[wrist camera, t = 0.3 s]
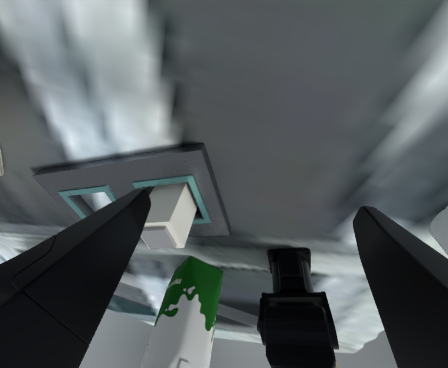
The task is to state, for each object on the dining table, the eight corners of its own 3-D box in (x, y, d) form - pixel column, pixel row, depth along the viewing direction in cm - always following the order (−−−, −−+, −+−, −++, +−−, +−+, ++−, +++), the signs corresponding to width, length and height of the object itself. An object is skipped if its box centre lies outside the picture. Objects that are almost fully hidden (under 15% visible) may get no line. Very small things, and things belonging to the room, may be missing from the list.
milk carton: (207, 286, 44) (179, 432, 29) (168, 269, 42) (115, 418, 26) (230, 270, 39) (212, 437, 23) (188, 251, 37) (136, 421, 21)
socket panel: (230, 226, 31) (229, 235, 30) (99, 234, 37) (93, 242, 36) (204, 143, 23) (200, 150, 22) (41, 169, 29) (30, 176, 28)
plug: (197, 205, 30) (182, 251, 24) (169, 208, 31) (148, 252, 25) (187, 180, 27) (167, 225, 21) (156, 184, 28) (129, 227, 22)
